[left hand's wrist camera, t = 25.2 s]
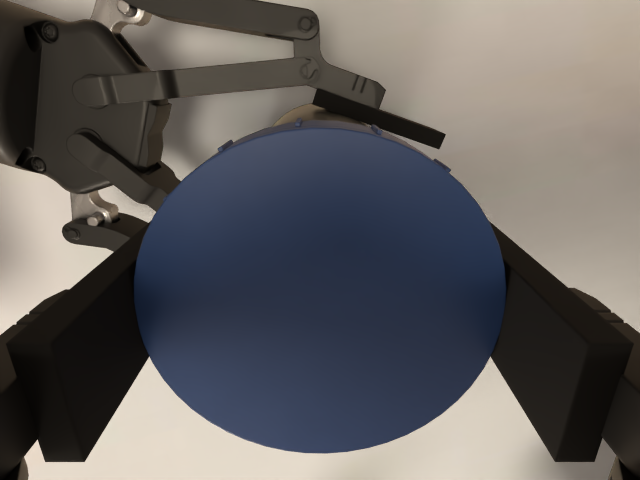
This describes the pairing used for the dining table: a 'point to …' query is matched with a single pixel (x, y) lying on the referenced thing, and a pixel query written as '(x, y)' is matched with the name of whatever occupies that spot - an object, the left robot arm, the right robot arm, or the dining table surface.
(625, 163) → the dining table surface
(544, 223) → the dining table surface
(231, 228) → the lid
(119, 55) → the right robot arm
